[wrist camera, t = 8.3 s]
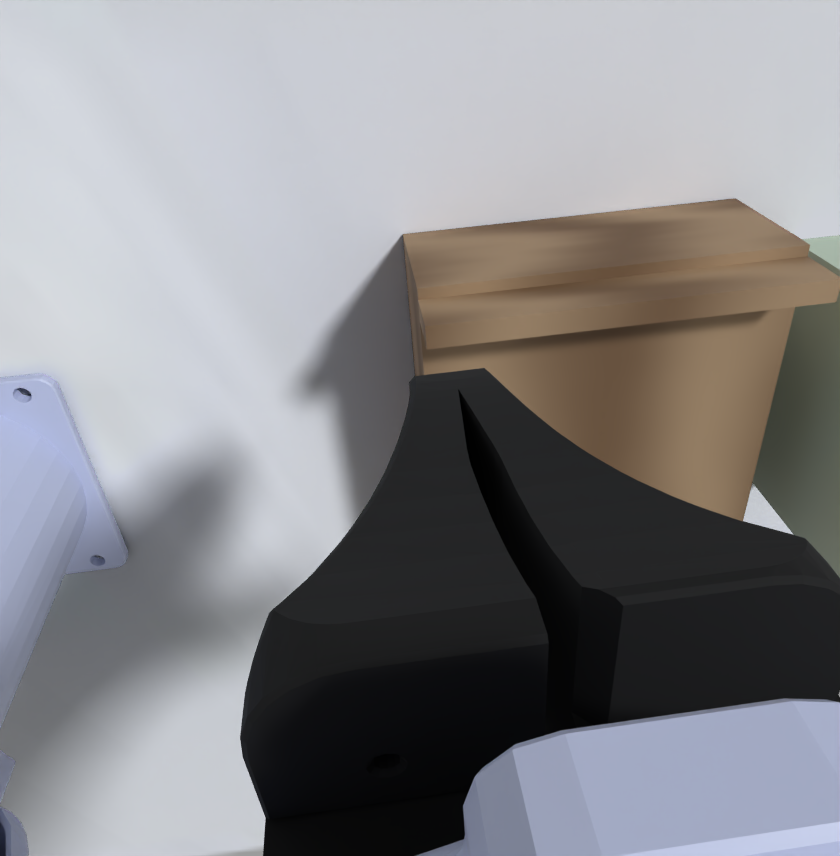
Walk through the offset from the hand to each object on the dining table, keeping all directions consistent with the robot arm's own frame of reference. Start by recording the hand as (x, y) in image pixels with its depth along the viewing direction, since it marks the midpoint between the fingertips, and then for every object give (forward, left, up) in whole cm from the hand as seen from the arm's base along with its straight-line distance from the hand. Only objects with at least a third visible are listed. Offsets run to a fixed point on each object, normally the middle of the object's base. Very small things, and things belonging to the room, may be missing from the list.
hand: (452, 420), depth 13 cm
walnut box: (+5, -6, -10) cm, 13 cm away
